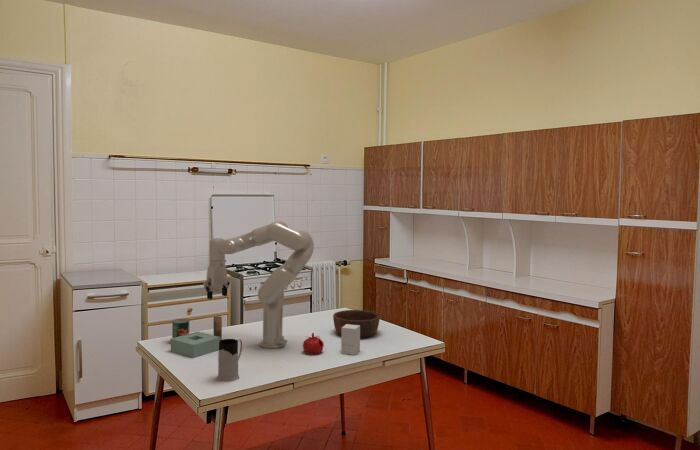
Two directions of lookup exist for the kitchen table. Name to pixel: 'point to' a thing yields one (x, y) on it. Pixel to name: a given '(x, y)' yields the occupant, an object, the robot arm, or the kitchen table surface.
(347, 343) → the supplement box
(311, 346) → the pomegranate
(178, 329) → the canned tomato
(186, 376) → the kitchen table surface
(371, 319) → the wooden bowl
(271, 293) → the robot arm
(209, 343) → the socket block
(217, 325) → the walnut peg
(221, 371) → the grey pitcher
